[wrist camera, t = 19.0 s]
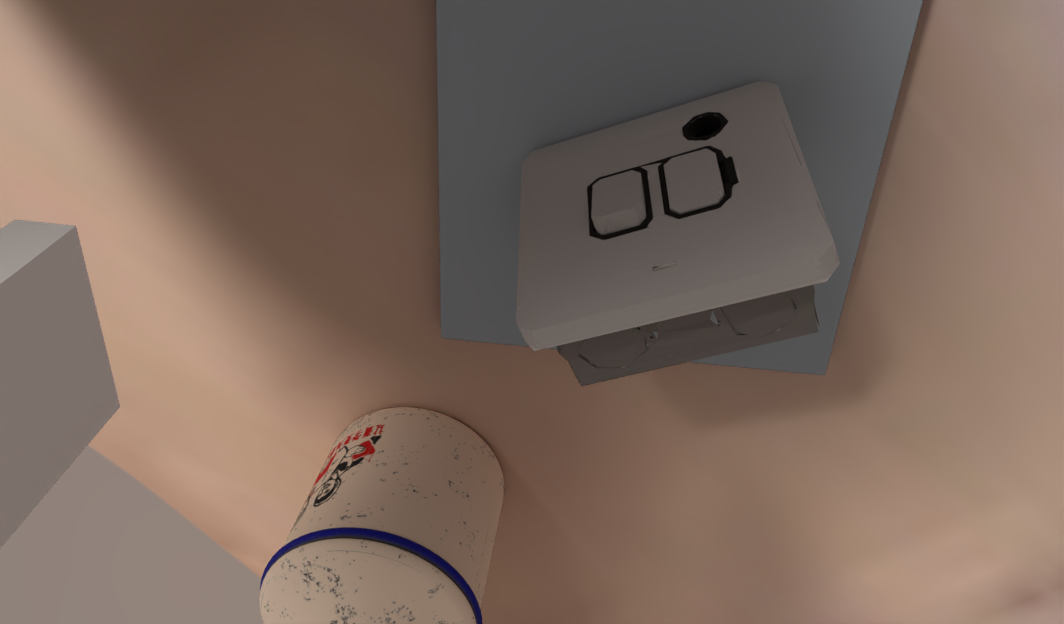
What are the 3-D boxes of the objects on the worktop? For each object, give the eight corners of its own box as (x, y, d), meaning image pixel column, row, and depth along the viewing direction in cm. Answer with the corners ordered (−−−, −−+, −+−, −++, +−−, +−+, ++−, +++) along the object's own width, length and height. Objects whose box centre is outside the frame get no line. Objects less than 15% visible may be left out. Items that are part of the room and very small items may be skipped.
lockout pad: (445, 326, 37) (440, 338, 36) (441, -77, 29) (434, -74, 28) (820, 361, 36) (824, 375, 35) (925, -48, 28) (934, -44, 27)
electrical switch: (775, 71, 29) (831, 197, 21) (802, 199, 32) (860, 352, 24) (520, 150, 32) (489, 288, 24) (565, 262, 34) (550, 419, 27)
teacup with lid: (362, 368, 39) (262, 560, 29) (542, 447, 40) (507, 659, 30) (289, 534, 44) (185, 742, 34) (447, 599, 46) (391, 819, 36)
